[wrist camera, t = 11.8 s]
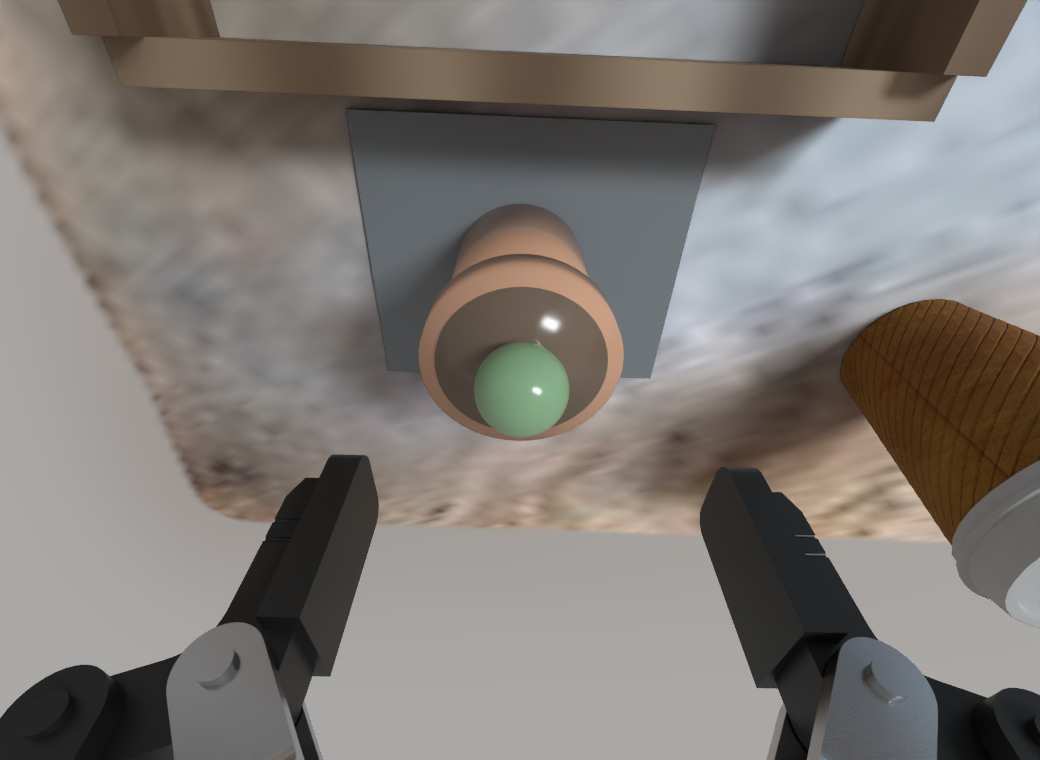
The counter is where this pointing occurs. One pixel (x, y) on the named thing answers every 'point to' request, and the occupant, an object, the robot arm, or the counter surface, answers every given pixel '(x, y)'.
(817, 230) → the counter surface
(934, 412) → the disposable coffee cup
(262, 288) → the counter surface
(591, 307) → the terracotta pot
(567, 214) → the slate mat
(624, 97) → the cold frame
